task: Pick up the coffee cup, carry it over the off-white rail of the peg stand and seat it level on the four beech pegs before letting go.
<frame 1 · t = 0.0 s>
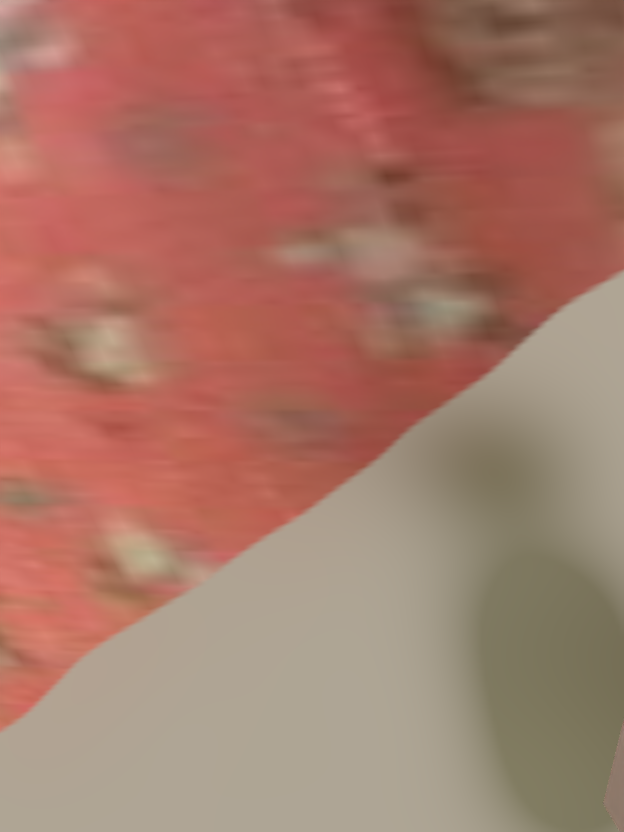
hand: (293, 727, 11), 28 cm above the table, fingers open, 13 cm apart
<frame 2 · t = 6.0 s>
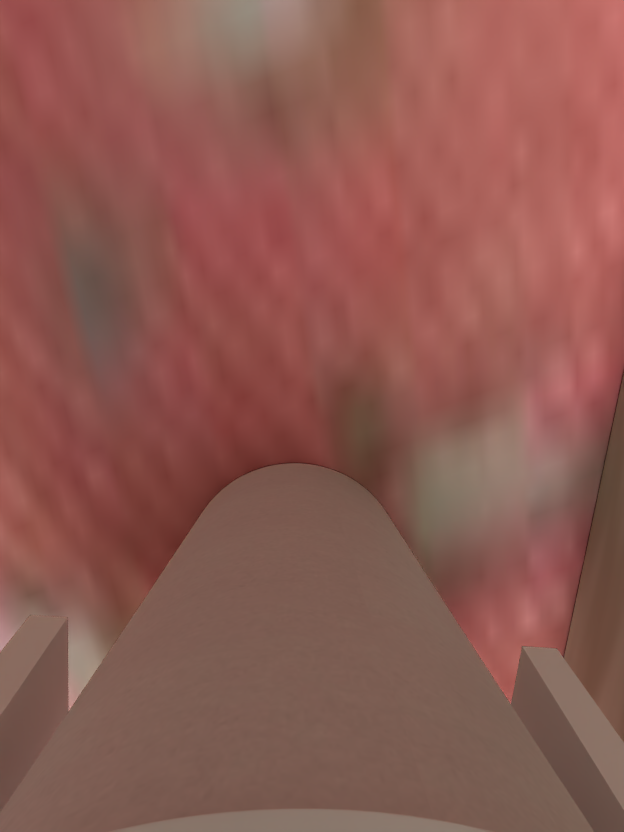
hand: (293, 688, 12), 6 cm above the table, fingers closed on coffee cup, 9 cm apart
coffee cup: (294, 560, 18), on the table, touching gripper
when the fingers open (10 cm above the table, at t = 12.2 s): coffee cup stays where it is, resting on peg stand.
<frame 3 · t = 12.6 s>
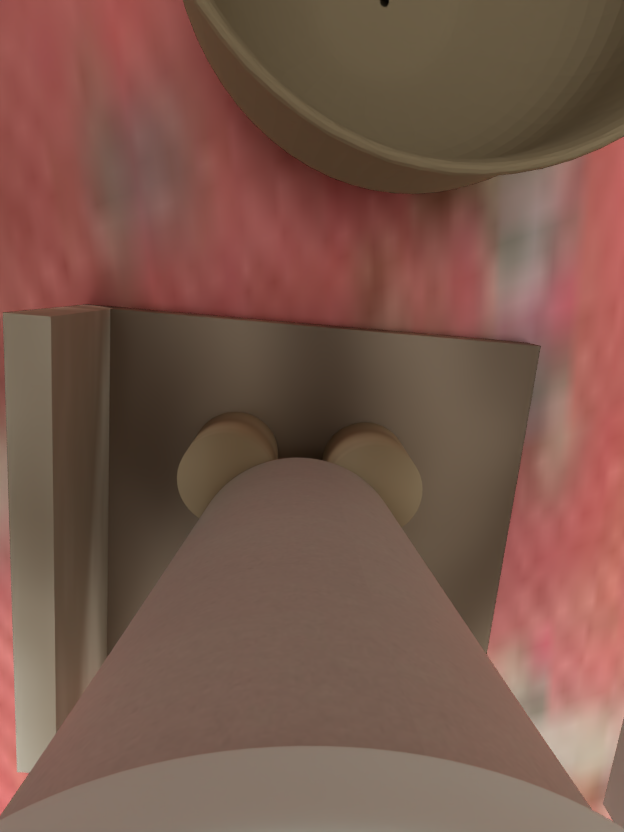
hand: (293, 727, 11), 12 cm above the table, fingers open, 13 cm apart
coffee cup: (297, 551, 18), point 4 cm above the table, touching peg stand
peg stand: (295, 505, 22), on the table
bowl: (397, 22, 19), on the table
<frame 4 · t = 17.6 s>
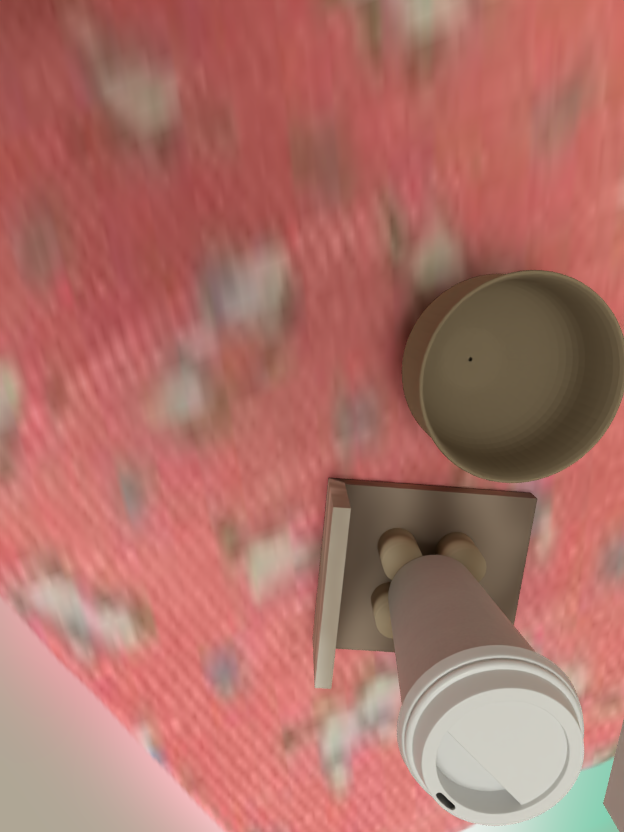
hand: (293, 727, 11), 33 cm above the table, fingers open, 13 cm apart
coffee cup: (431, 593, 42), point 4 cm above the table, touching peg stand
peg stand: (418, 567, 46), on the table
bowl: (474, 359, 43), on the table
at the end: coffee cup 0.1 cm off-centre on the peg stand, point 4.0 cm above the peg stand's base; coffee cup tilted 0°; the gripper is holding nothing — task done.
